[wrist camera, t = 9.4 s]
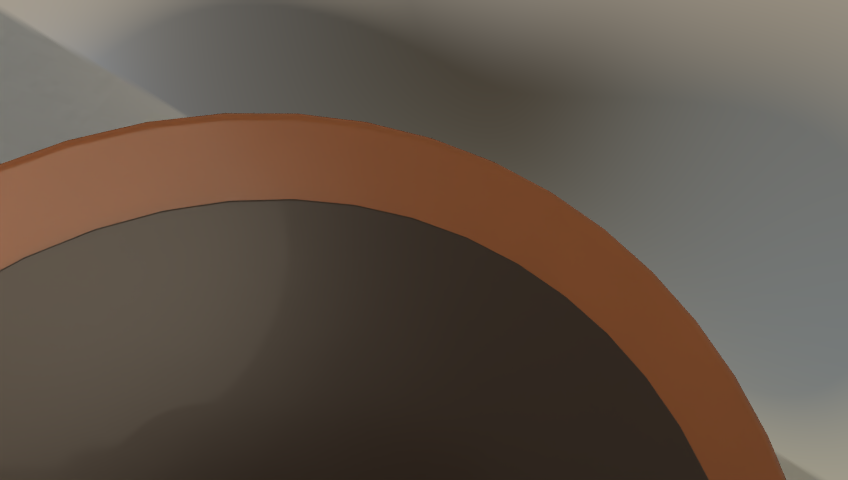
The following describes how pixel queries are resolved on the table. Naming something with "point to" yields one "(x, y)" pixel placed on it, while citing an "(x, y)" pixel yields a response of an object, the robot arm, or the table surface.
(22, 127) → the table surface
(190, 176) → the orange cylindrical vase
